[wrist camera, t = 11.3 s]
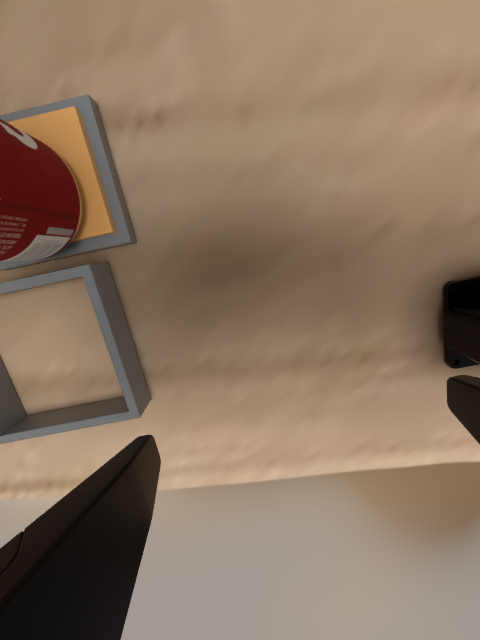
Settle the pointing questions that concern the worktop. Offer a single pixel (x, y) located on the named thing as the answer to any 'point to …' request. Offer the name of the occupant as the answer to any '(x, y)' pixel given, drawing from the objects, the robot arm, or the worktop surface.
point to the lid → (81, 172)
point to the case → (4, 404)
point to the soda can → (34, 198)
